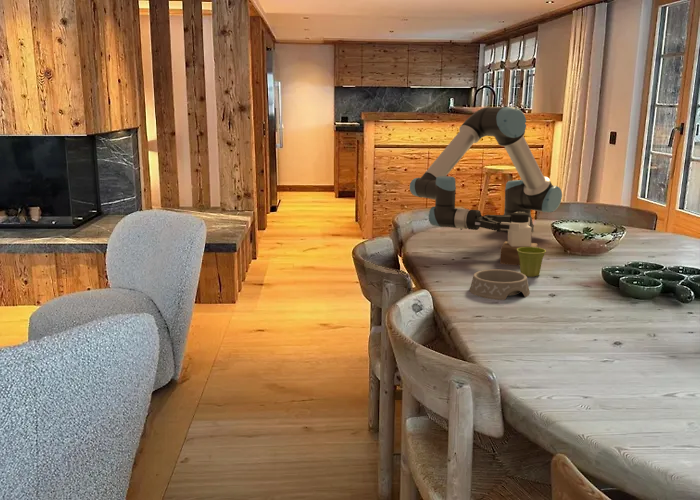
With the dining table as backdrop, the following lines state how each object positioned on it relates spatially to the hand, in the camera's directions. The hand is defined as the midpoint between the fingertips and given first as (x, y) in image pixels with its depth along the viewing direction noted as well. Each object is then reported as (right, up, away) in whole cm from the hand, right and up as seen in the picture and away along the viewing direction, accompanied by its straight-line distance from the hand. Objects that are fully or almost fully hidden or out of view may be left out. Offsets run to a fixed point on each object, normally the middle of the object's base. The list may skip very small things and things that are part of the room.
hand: (524, 224), depth 225 cm
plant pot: (-2, -18, -14) cm, 23 cm away
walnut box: (-1, -14, +4) cm, 14 cm away
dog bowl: (-17, -23, -32) cm, 43 cm away
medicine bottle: (-1, -8, +3) cm, 8 cm away
